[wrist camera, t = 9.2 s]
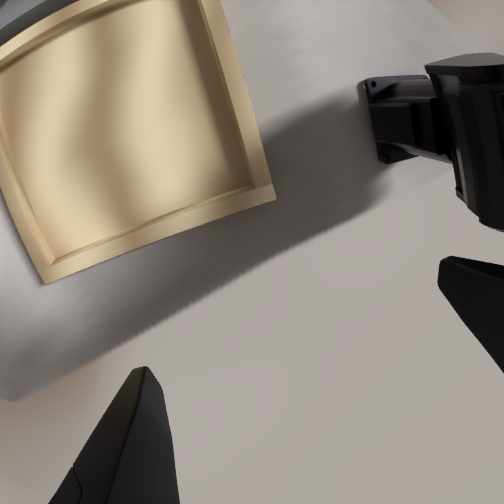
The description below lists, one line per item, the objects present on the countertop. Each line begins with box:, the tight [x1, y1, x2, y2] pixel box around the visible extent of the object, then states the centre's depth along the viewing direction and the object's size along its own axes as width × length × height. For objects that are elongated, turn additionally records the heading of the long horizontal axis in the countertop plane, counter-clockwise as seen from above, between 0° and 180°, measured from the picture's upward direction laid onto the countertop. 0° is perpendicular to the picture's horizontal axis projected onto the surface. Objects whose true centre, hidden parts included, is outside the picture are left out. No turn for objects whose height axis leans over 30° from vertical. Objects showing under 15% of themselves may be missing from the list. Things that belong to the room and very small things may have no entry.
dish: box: [0, 0, 276, 285], centre depth 14 cm, size 16×16×2 cm
